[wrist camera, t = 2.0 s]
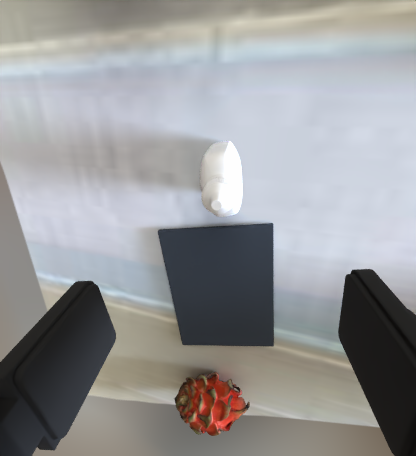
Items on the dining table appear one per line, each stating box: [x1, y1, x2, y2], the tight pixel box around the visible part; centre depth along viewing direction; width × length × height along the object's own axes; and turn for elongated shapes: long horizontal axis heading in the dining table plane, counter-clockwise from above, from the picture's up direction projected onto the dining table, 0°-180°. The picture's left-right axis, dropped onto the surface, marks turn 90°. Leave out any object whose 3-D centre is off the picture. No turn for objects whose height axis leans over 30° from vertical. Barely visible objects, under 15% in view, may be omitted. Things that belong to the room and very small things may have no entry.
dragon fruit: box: [175, 372, 250, 436], centre depth 40 cm, size 8×8×12 cm
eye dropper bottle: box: [200, 141, 243, 217], centre depth 22 cm, size 4×6×12 cm
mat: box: [158, 223, 274, 346], centre depth 34 cm, size 20×14×1 cm
